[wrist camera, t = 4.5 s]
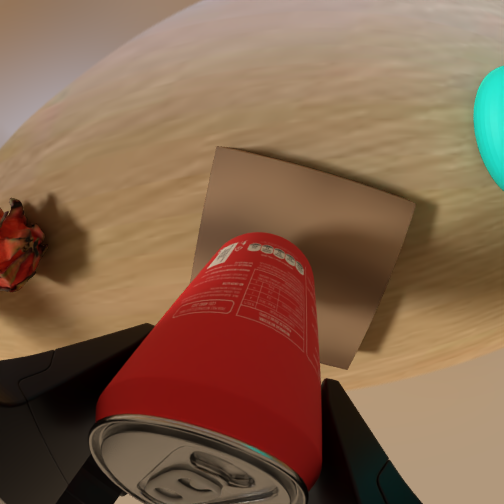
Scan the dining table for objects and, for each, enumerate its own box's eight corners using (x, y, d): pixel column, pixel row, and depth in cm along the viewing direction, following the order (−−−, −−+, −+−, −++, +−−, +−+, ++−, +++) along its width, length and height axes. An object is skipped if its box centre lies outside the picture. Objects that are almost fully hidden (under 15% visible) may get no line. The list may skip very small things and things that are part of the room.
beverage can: (334, 274, 15) (375, 498, 4) (266, 335, 17) (217, 540, 6) (258, 205, 15) (134, 356, 4) (195, 276, 17) (57, 448, 5)
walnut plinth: (345, 350, 22) (347, 369, 20) (196, 305, 24) (184, 320, 21) (404, 198, 18) (416, 203, 16) (228, 147, 19) (216, 146, 17)
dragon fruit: (9, 231, 29) (77, 220, 28) (-4, 299, 26) (65, 303, 25) (-37, 201, 21) (27, 179, 20) (-57, 278, 18) (2, 278, 17)
